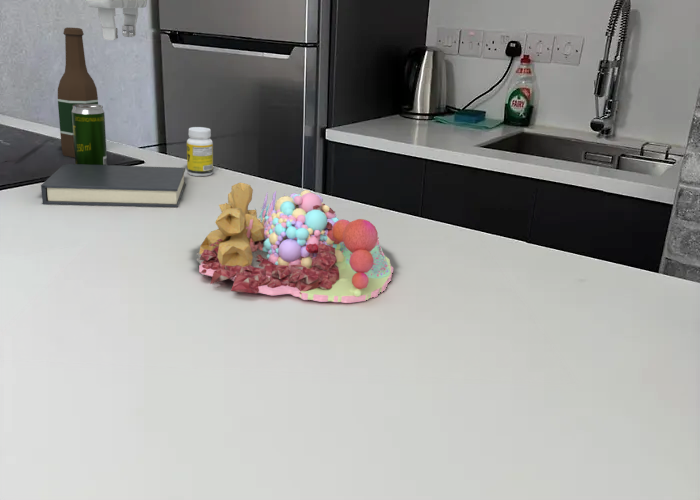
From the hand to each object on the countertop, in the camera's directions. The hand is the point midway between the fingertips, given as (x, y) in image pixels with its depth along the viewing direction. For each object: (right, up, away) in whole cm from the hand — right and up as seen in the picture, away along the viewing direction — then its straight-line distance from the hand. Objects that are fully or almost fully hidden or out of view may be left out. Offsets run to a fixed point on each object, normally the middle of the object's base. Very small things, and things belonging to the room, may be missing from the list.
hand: (120, 38), depth 108 cm
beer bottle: (-17, -15, +28) cm, 36 cm away
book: (-1, -24, +4) cm, 25 cm away
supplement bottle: (+8, -19, +20) cm, 29 cm away
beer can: (-10, -20, +15) cm, 27 cm away
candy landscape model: (+29, -36, -21) cm, 51 cm away
